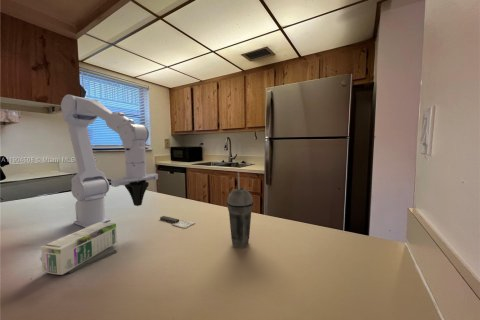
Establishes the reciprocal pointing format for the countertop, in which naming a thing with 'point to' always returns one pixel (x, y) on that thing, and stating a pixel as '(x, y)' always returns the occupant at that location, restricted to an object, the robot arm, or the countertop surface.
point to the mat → (95, 258)
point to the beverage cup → (240, 215)
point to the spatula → (178, 222)
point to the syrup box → (77, 247)
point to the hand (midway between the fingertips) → (137, 205)
